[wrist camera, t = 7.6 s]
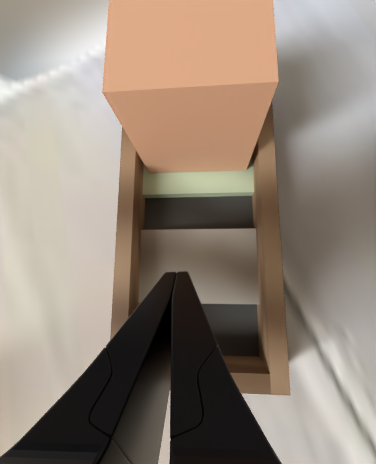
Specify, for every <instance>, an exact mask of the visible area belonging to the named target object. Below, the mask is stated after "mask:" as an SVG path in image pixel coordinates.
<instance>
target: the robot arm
mask: <svg viewBox="0 0 376 464" xmlns="http://www.w3.org/2000/svg"><path fill="white" fill-rule="evenodd" d="M170 383H171V405H170V438H171V441H170V464H282V463H281V462H280V460H279V458H278V457H277V455H276V454H275V452H274V450H273V449H272V447H271V445H270V444H269V442H268V440H267V438H266V437H265V435H264V433H263V431H262V430H261V428H260V426H259V424H258V423H257V421H256V419H255V417H254V416H253V414H252V412H251V410H250V408H249V407H248V405H247V403H246V401H245V400H244V398H243V396H242V394H241V393H240V391H239V389H238V387H237V385H236V383H235V381H234V379H233V377H232V375H231V373H230V371H229V369H228V367H227V364H226V362H225V360H224V358H223V355H222V353H221V350H220V348H219V347H218V343H217V341H216V339H215V336H214V334H213V331H212V329H211V326H210V324H209V321H208V319H207V317H206V314H205V312H204V309H203V307H202V304H201V302H200V299H199V297H198V295H197V292H196V290H195V287H194V285H193V282H192V280H191V277H190V275H189V273H188V271H179V272H177V273H176V272H165V273H164V274H163V276H162V277H161V278H160V279H159V281H158V282H157V283H156V284H155V286H154V287H153V288H152V289H151V291H150V292H149V293H148V294H147V296H146V297H145V298H144V299H143V300H142V302H141V303H140V304H139V305H138V307H137V308H136V309H135V310H134V312H133V313H132V314H131V315H130V317H129V318H128V319H127V320H126V322H125V323H124V324H123V325H122V327H121V328H120V329H119V330H118V332H117V333H116V334H115V335H114V337H113V338H112V339H111V340H110V341H109V343H108V344H107V345H106V348H104V349H103V350H102V351H101V353H100V354H99V355H98V356H97V357H96V359H95V360H94V361H93V362H92V363H91V365H90V366H89V367H88V368H87V369H86V371H85V372H84V373H83V374H82V375H81V376H80V377H79V378H78V379H77V381H76V382H75V383H74V384H73V385H72V386H71V387H70V388H69V389H68V390H67V391H66V392H65V394H64V395H63V396H62V397H61V398H60V399H59V400H58V401H57V402H56V403H55V404H54V405H53V406H52V407H51V408H50V409H49V410H48V411H47V412H46V413H45V414H44V416H43V417H42V418H41V419H40V420H39V421H38V422H37V423H36V424H35V425H34V426H33V427H32V428H31V429H30V430H29V431H28V432H27V433H26V434H25V435H24V436H23V437H22V438H21V439H20V440H19V441H18V442H17V443H16V444H15V445H14V446H13V447H12V448H11V449H9V450H8V451H7V452H6V453H4V454H3V455H2V456H1V457H0V464H158V460H159V453H160V447H161V441H162V434H163V428H164V422H165V415H166V409H167V403H168V396H169V390H170Z"/></svg>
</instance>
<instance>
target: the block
mask: <svg viewBox="0 0 376 464" xmlns="http://www.w3.org/2000/svg"><path fill="white" fill-rule="evenodd" d="M278 82H279V79H278V65H277V50H276V36H275V22H274V8H273V0H109V9H108V23H107V36H106V50H105V63H104V77H103V90H102V93H103V94H104V96H105V98H106V99H107V101H108V103H109V105H110V106H111V108H112V110H113V111H114V113H115V115H116V117H117V118H118V120H119V122H120V123H121V125H122V127H123V129H124V130H125V132H126V134H127V135H128V137H129V139H130V141H131V142H132V144H133V146H134V147H135V149H136V151H137V153H138V154H139V156H140V158H141V159H142V161H143V163H144V165H145V166H146V168H147V170H148V171H149V173H172V172H203V171H235V170H247V167H248V164H249V161H250V159H251V156H252V153H253V151H254V148H255V145H256V142H257V140H258V137H259V134H260V131H261V129H262V126H263V123H264V120H265V118H266V115H267V112H268V109H269V107H270V104H271V101H272V99H273V96H274V93H275V90H276V88H277V85H278Z"/></svg>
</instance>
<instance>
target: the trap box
mask: <svg viewBox="0 0 376 464" xmlns="http://www.w3.org/2000/svg"><path fill="white" fill-rule="evenodd" d="M179 271H188V273H189V275H190V277H191V280H192V282H193V285H194V287H195V290H196V292H197V295H198V297H199V299H200V302H201V304H202V307H203V309H204V312H205V314H206V317H207V319H208V321H209V324H210V326H211V329H212V331H213V334H214V336H215V339H216V341H217V343H218V347H219V348H220V350H221V353H222V355H223V358H224V360H225V362H226V364H227V367H228V369H229V371H230V373H231V375H232V377H233V379H234V381H235V383H236V385H237V387H238V389H239V391H240V393H248V394H271V395H290V380H289V364H288V349H287V333H286V317H285V301H284V286H283V270H282V254H281V238H280V223H279V207H278V191H277V175H276V160H275V144H274V128H273V113H272V101H271V104H270V107H269V109H268V112H267V115H266V118H265V120H264V123H263V126H262V129H261V131H260V134H259V137H258V140H257V142H256V145H255V148H254V151H253V153H252V156H251V159H250V161H249V164H248V167H247V170H235V171H203V172H172V173H149V171H148V170H147V168H146V166H145V165H144V163H143V161H142V159H141V158H140V156H139V154H138V153H137V151H136V149H135V147H134V146H133V144H132V142H131V141H130V139H129V137H128V135H127V134H126V132H125V130H124V129H123V127H122V141H121V159H120V177H119V195H118V213H117V231H116V249H115V267H114V285H113V303H112V321H111V339H112V338H113V337H114V335H115V334H116V333H117V332H118V330H119V329H120V328H121V327H122V325H123V324H124V323H125V322H126V320H127V319H128V318H129V317H130V315H131V314H132V313H133V312H134V310H135V309H136V308H137V307H138V305H139V304H140V303H141V302H142V300H143V299H144V298H145V297H146V296H147V294H148V293H149V292H150V291H151V289H152V288H153V287H154V286H155V284H156V283H157V282H158V281H159V279H160V278H161V277H162V276H163V274H164V273H165V272H176V273H177V272H179ZM111 339H110V340H111ZM170 390H171V383H170Z"/></svg>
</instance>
